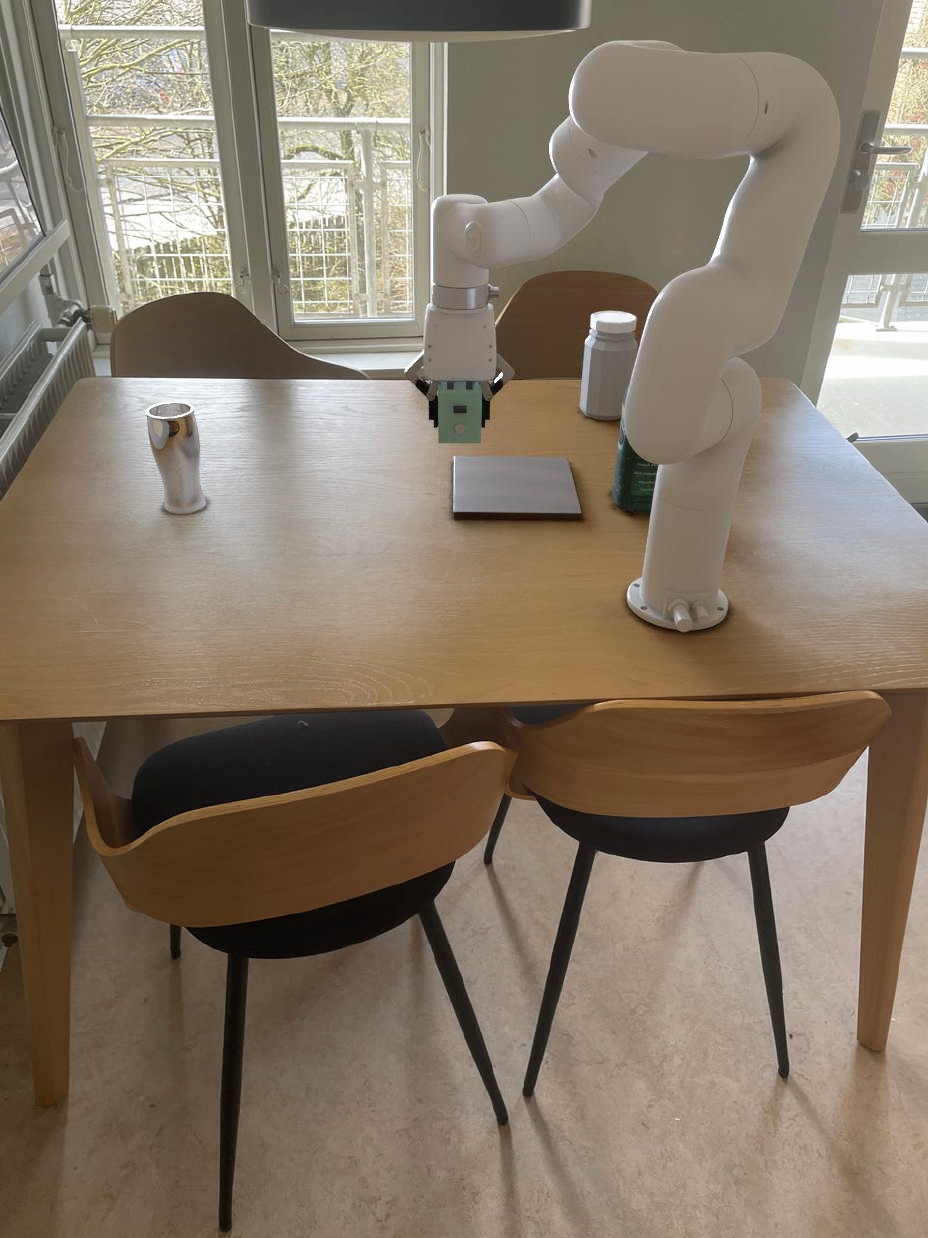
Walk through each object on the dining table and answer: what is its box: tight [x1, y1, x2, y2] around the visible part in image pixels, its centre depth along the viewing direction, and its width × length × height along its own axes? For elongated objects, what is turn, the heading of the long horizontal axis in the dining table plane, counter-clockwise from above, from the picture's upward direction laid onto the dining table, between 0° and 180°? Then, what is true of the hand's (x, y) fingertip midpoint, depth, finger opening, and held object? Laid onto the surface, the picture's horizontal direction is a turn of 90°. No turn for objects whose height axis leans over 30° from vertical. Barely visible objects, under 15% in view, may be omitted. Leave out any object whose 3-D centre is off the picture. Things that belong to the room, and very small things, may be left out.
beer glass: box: [145, 401, 207, 515], centre depth 136 cm, size 7×7×15 cm
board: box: [453, 455, 583, 521], centre depth 146 cm, size 21×19×1 cm
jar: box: [579, 310, 638, 421], centre depth 171 cm, size 10×10×18 cm
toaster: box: [437, 382, 482, 444], centre depth 132 cm, size 10×6×8 cm, turn 2°
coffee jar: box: [611, 385, 659, 515], centre depth 138 cm, size 10×8×19 cm
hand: (459, 423), depth 134 cm, fingers closed on toaster, 6 cm apart
